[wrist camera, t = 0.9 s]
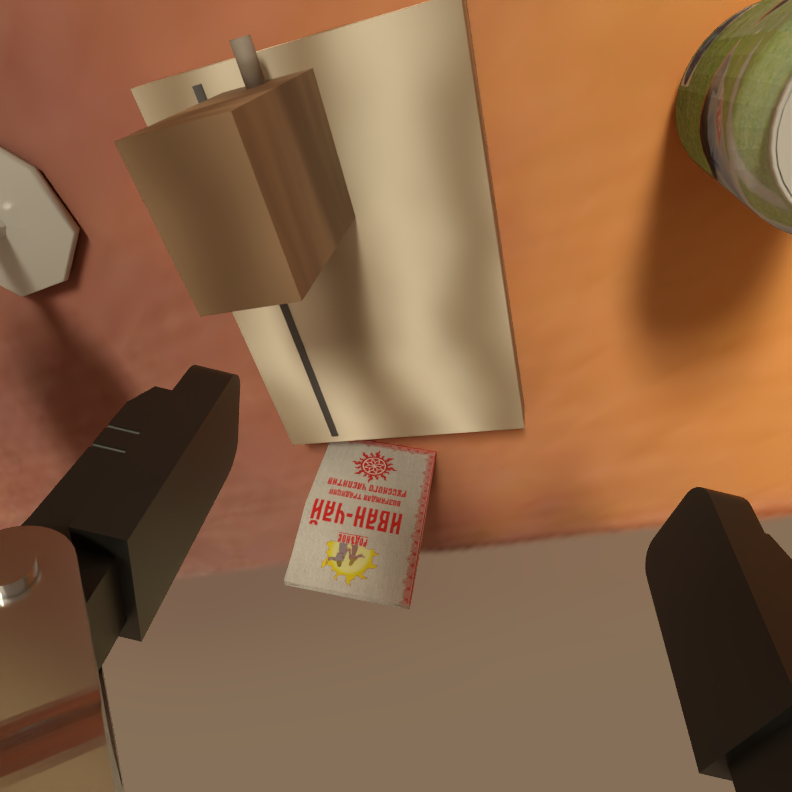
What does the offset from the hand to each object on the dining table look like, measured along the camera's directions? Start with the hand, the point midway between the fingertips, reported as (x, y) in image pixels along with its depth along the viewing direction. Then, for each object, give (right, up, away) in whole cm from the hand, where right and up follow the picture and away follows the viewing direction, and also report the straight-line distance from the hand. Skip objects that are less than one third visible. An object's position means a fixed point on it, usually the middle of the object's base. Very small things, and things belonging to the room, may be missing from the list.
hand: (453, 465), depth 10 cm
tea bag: (-2, -3, +28) cm, 28 cm away
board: (-3, +8, +19) cm, 21 cm away
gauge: (-5, +11, +14) cm, 19 cm away
